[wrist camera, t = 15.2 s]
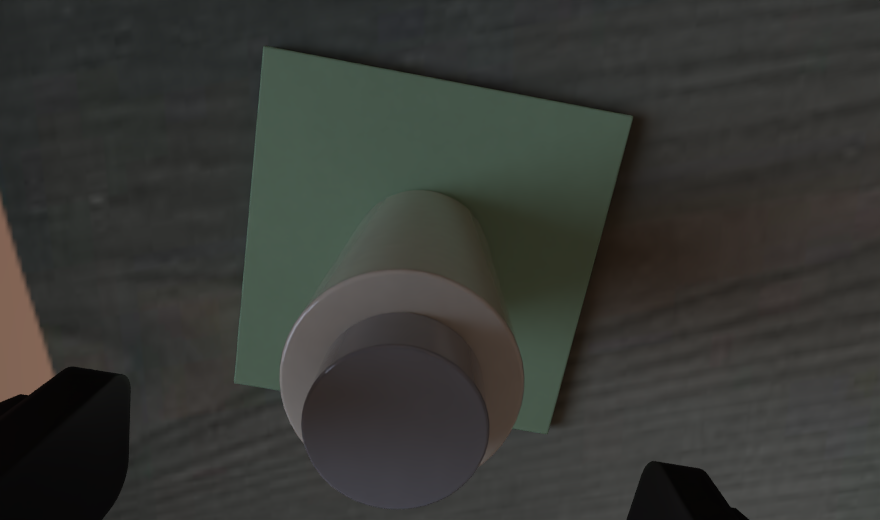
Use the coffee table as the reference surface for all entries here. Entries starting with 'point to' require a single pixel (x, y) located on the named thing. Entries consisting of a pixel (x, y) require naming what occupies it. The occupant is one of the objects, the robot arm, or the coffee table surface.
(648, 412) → the coffee table surface
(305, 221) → the mat
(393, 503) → the spice bottle
